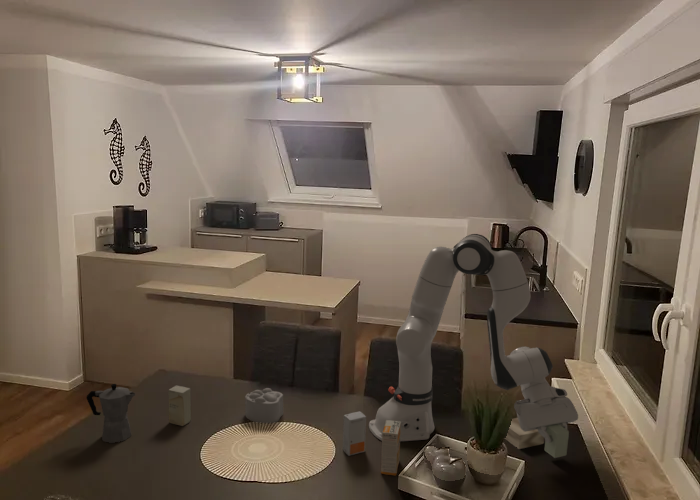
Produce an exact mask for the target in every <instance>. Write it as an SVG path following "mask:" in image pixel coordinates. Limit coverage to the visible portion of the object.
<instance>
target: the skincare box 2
mask: <svg viewBox="0 0 700 500" xmlns="http://www.w3.org/2000/svg"><path fill="white" fill-rule="evenodd" d="M342 425H343V426H342V428H343V429H342V432H343V433H342V450H343V452H344V453H345V454H346V455H347V456H348V457H350V456H354V455H358V454H361V453H365V452H366V434H367V433H366V430H367V415H365V414H364V413H363V412H362V411H360V410H359V411H355V412H349V413H347V414H344V415H343V424H342Z"/></svg>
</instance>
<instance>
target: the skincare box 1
mask: <svg viewBox="0 0 700 500" xmlns="http://www.w3.org/2000/svg"><path fill="white" fill-rule="evenodd" d="M191 400H192V399H191V387H185V386H181V385H177V384H176V385H174V386H173V387H171V388H169V389H168V423H170V424H172V425H178V426H181V427H184V426H185V425H187V424H189V423H191V416H192V415H191V409H192V408H191V407H192V406H191Z"/></svg>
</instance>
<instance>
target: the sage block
mask: <svg viewBox="0 0 700 500" xmlns="http://www.w3.org/2000/svg"><path fill="white" fill-rule="evenodd" d="M545 431H546V432H547V433H548V435H551V436H552V438H553V442H550V443H547V442H546V440H545V439H544V448H543V449H544V451H545V452H546V454H547V453H548V454H549V456H552V457H553V459H556V458H560V457H566V456H567V452H568V443H569V438H568V436H569V435H570V434H569V433H570V431H569V430H568V429H567V430H566V429H565V428H563V427H562V426H560V425H559V424H557V425H552V426H547V427H546V430H545Z"/></svg>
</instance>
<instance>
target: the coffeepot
mask: <svg viewBox="0 0 700 500" xmlns="http://www.w3.org/2000/svg"><path fill="white" fill-rule="evenodd" d="M110 385H111V386H110V387H111V388H106V389H104V390H91V391H90V392H89V393H88V394H86V401H87V402H88V405H89V407H90V410H91V412H92V414H93V415H94V416H101V414H102V415H103V418H104V419H103V427H102V435H101V436H102V438H101V439H102V441H103V442H104V441H105V443H106V442H109V443H108V444H115V442H118V443H121V442H124V441H126V440H128V439H129V438H130V437H131V436H132V430H131V426H130V425H131V424H130V422H129V417H128V410H129V409H128V408H129V405H130V403H131V401H132V399H133V397H134V396H136V393H135V392H134V391H130V389H129V388H127V387H122V386H117V383H112V384H110ZM93 397H95V398H99V401H100V402H99V403H100V406H101V410H102V412H99V411H97V407H96V405H95V401H94V399H93ZM127 438H128V439H127ZM120 441H121V442H120Z"/></svg>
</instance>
